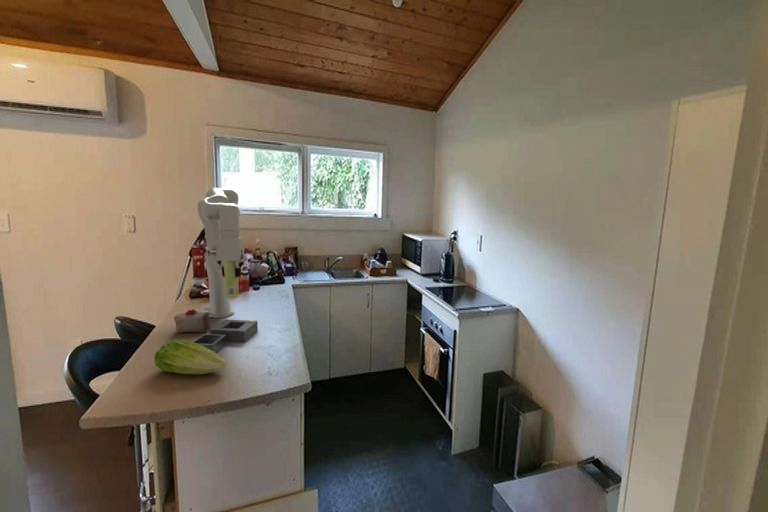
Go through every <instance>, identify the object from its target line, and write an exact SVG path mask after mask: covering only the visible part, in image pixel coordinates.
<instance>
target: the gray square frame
mask: <svg viewBox="0 0 768 512" xmlns="http://www.w3.org/2000/svg"><path fill="white" fill-rule="evenodd" d="M191 342H193V343H196V344H200V345H202V346H204V347H206V348H208V349H210V350H212V351H213V352H215V353H216V354H217V353H218V352H219V351H221V349H222V348H224V347H225V346H226V345H228V342H227V336H226V335H219V334H210V333H203V334H202V335H200V336H198V337H197V338H195V339H194V340H192V341H191Z"/></svg>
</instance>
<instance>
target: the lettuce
mask: <svg viewBox="0 0 768 512" xmlns="http://www.w3.org/2000/svg"><path fill="white" fill-rule="evenodd" d="M154 364H155V366H156V367H158V369H160V370H162V371H164V372H165V373H166V372H168V373H174V374H181V375H205V374H211V373H216V372H218V371H222V370H223V369H225V368H226V367H227V361H226V360H225V359H224V358H223V357H222V356H220V355H219V354H218V353H217V352H216V353H215V352H213V351H212V350H210V349H208V348H206V347H204V346H202V345H200V344H196V343H193V342H192V341H189V340H183V339H174V340H171V341H167V342H165V343H164V344H163V345H162V346H161V347H160V348H158V350H157V351H156V352H155V354H154Z"/></svg>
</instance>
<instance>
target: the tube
mask: <svg viewBox="0 0 768 512" xmlns="http://www.w3.org/2000/svg"><path fill="white" fill-rule="evenodd" d="M222 257H223V255H222ZM223 264H224V274H225V287H226V298H230V299H235V298H238V297H239V277H235V268H236V264H235V262H232V261H223Z"/></svg>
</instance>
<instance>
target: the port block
mask: <svg viewBox="0 0 768 512" xmlns="http://www.w3.org/2000/svg"><path fill="white" fill-rule="evenodd" d="M258 328H259V327H258V320H245V319H244V320H243V319H224V320H222V321H221V322H220V323H218V324H217V325H215V326H213V327H212V328H209V334H219V335H226V336H227V343H244V344H245V343H246V342H247V341H249V340H250V339H252V337H254V336H255V334H256V333H258V331H259V330H258Z"/></svg>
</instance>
